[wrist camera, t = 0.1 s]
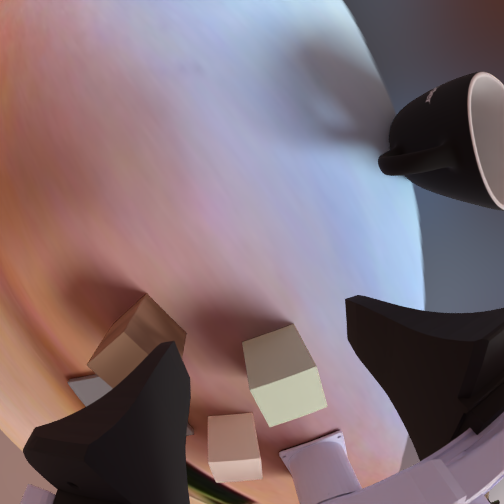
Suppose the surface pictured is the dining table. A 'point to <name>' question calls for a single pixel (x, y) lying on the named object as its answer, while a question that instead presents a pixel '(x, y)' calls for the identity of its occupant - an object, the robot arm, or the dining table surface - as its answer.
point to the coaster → (96, 391)
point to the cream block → (233, 448)
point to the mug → (453, 141)
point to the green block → (283, 376)
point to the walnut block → (134, 340)
